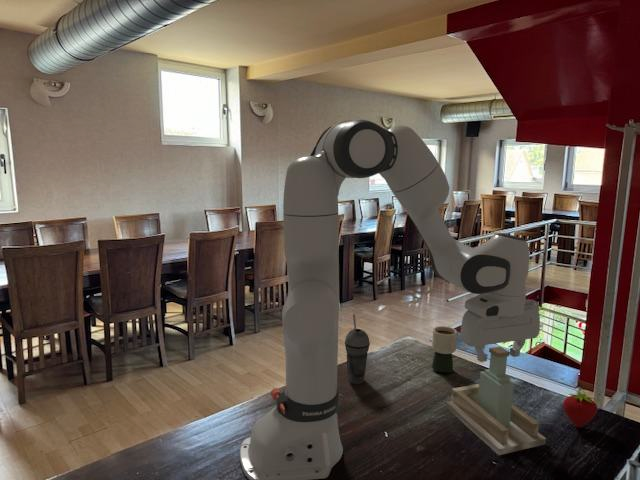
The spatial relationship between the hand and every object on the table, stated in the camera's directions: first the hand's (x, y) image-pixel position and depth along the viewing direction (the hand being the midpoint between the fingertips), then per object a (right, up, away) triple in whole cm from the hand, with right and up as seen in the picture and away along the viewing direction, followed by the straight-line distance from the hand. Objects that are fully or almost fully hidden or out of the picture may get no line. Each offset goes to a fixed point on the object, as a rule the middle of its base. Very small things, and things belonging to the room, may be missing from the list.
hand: (498, 358), depth 105 cm
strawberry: (+21, -18, +3) cm, 27 cm away
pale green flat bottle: (0, -16, +3) cm, 16 cm away
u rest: (0, -17, +3) cm, 17 cm away
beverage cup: (-32, -13, +24) cm, 42 cm away
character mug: (-5, -12, +31) cm, 33 cm away
